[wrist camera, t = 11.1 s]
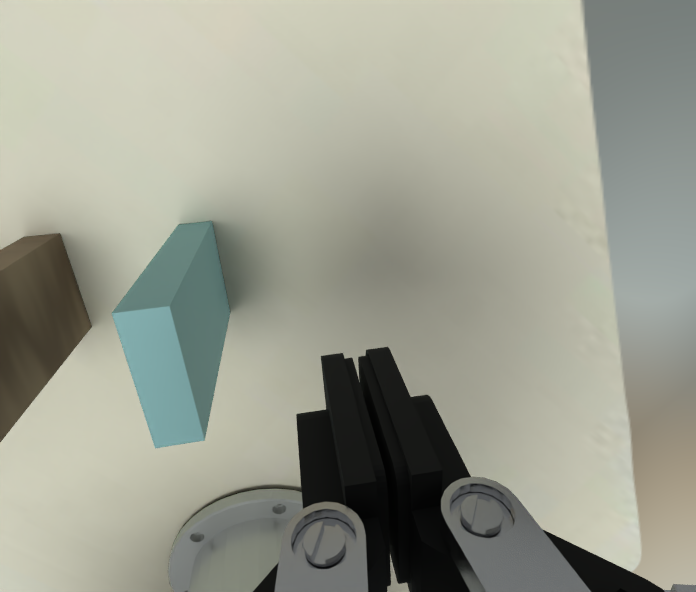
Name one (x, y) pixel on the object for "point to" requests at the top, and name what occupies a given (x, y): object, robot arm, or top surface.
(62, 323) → the tile
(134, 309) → the tile
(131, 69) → the top surface
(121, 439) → the top surface
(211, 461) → the top surface
